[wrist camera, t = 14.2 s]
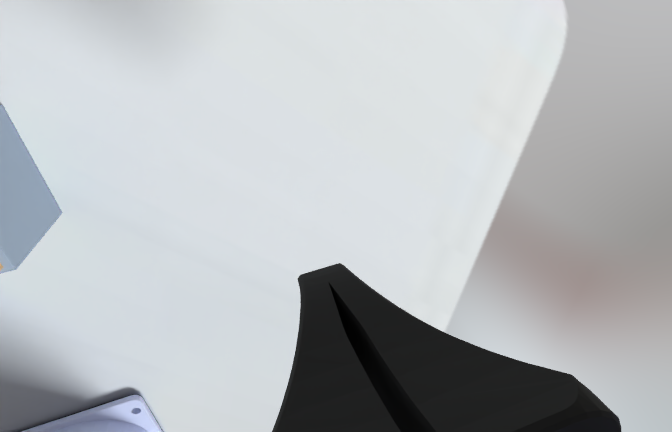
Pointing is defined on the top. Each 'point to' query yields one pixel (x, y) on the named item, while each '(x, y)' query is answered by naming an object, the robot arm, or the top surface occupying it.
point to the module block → (21, 199)
